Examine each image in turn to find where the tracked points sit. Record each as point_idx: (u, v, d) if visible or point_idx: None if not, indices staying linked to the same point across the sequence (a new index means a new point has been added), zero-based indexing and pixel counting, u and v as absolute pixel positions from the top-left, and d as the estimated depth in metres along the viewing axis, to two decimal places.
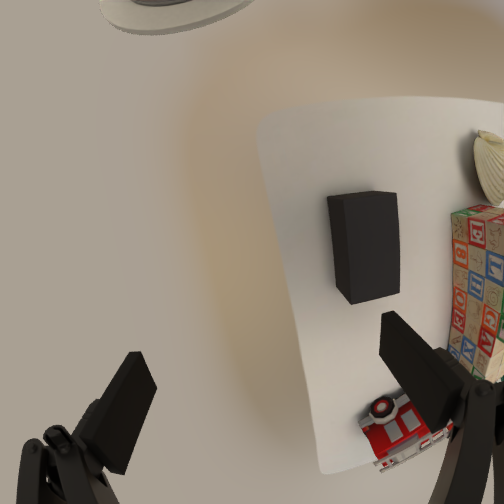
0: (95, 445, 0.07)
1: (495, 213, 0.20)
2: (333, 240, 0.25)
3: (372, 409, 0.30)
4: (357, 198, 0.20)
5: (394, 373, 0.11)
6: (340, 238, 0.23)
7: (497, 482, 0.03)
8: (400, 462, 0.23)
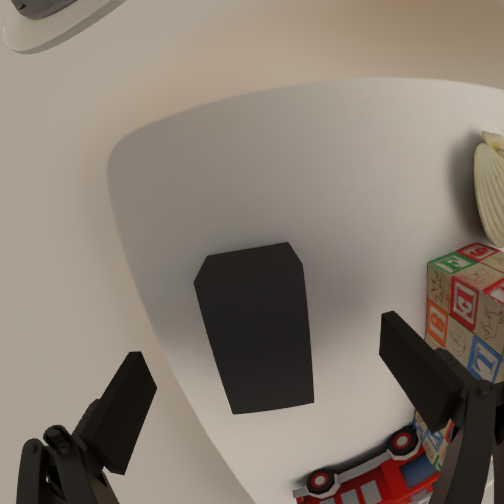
0: (95, 445, 0.07)
1: (499, 269, 0.12)
2: None
3: (309, 481, 0.22)
4: (220, 280, 0.12)
5: (394, 373, 0.11)
6: None
7: (497, 482, 0.03)
8: None
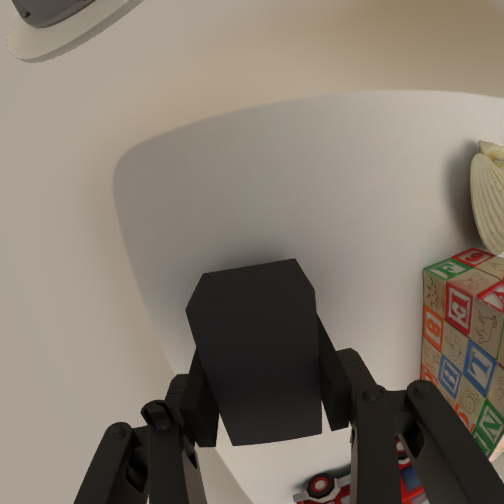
0: (197, 415, 0.09)
1: (493, 274, 0.12)
2: None
3: (309, 486, 0.22)
4: (216, 307, 0.10)
5: None
6: None
7: (428, 490, 0.05)
8: None
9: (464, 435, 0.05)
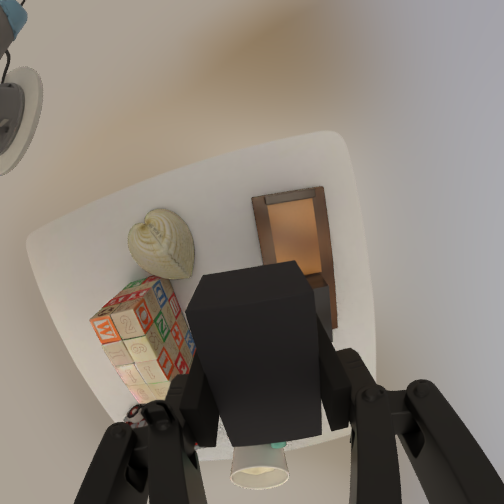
0: (198, 415, 0.09)
1: (135, 290, 0.31)
2: None
3: (130, 410, 0.42)
4: (216, 310, 0.10)
5: None
6: None
7: (428, 490, 0.05)
8: None
9: (464, 434, 0.05)
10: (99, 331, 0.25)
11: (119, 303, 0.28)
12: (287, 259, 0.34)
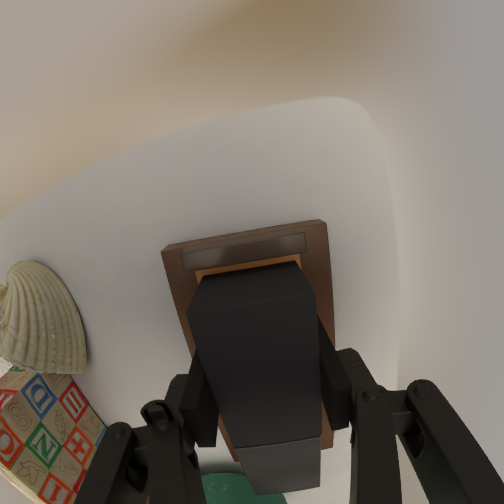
0: (197, 415, 0.09)
1: (10, 383, 0.13)
2: None
3: None
4: (216, 311, 0.10)
5: None
6: None
7: (429, 490, 0.05)
8: None
9: (464, 435, 0.05)
10: None
11: None
12: None
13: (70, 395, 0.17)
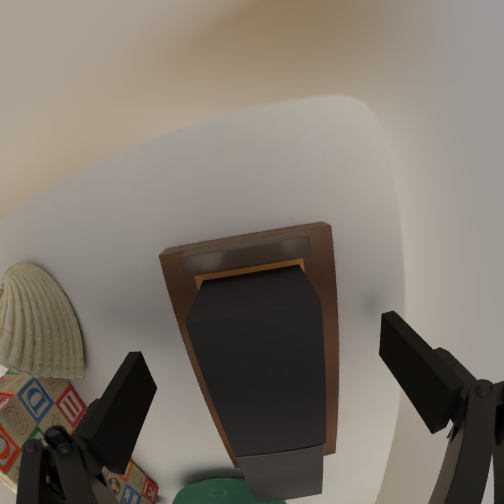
0: (95, 445, 0.07)
1: (6, 386, 0.12)
2: None
3: None
4: (217, 319, 0.10)
5: (394, 373, 0.11)
6: None
7: (497, 482, 0.03)
8: None
9: None
10: None
11: None
12: None
13: (67, 399, 0.17)
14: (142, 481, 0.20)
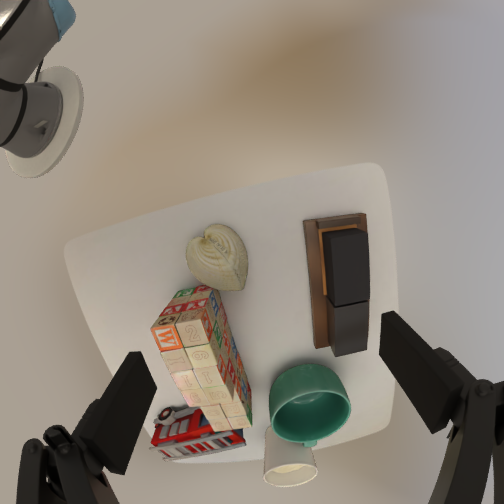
0: (95, 445, 0.07)
1: (189, 299, 0.35)
2: (325, 262, 0.37)
3: (161, 413, 0.44)
4: (340, 237, 0.32)
5: (394, 373, 0.11)
6: (329, 262, 0.34)
7: (497, 482, 0.03)
8: (173, 458, 0.38)
9: None
10: (160, 339, 0.28)
11: (179, 312, 0.31)
12: None
13: (221, 309, 0.39)
14: (246, 380, 0.42)
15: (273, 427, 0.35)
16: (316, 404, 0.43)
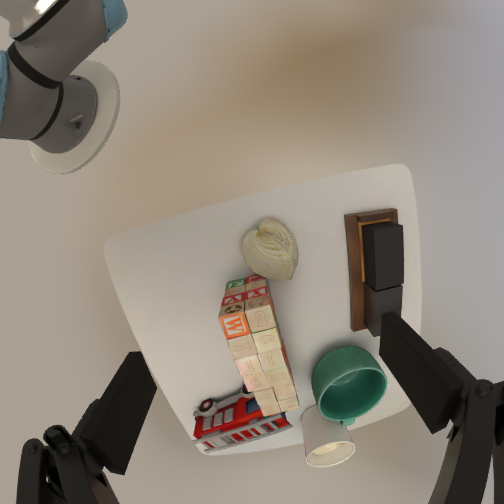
0: (95, 445, 0.07)
1: (246, 288, 0.37)
2: (364, 252, 0.40)
3: (201, 405, 0.48)
4: (381, 229, 0.35)
5: (394, 373, 0.11)
6: (369, 251, 0.37)
7: (497, 482, 0.03)
8: (216, 448, 0.41)
9: None
10: (227, 327, 0.31)
11: (242, 301, 0.34)
12: None
13: None
14: (289, 365, 0.45)
15: (319, 407, 0.38)
16: (351, 385, 0.46)
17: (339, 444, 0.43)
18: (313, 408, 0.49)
